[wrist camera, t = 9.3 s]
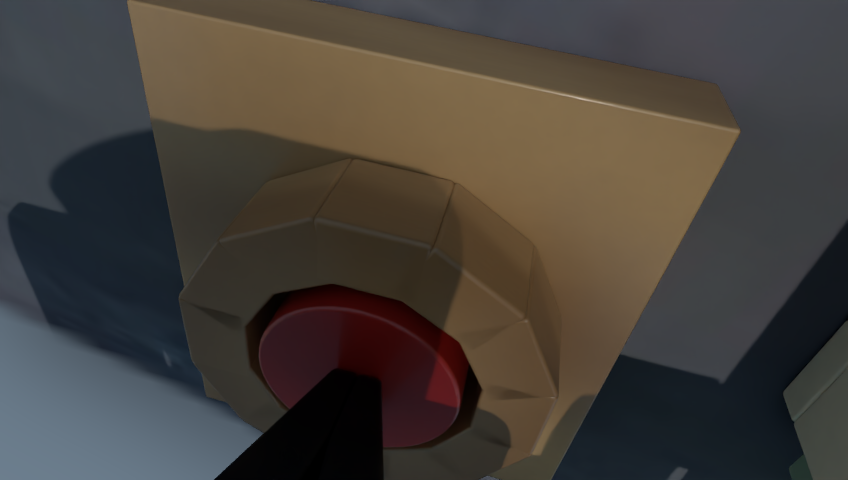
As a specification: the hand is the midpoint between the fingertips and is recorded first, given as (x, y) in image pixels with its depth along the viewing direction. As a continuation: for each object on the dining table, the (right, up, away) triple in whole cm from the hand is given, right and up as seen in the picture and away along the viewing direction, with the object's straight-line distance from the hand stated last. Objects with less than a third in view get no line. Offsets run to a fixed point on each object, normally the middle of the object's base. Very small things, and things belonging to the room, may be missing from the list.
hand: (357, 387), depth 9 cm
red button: (0, +1, +1) cm, 2 cm away
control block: (+1, +2, +3) cm, 4 cm away
